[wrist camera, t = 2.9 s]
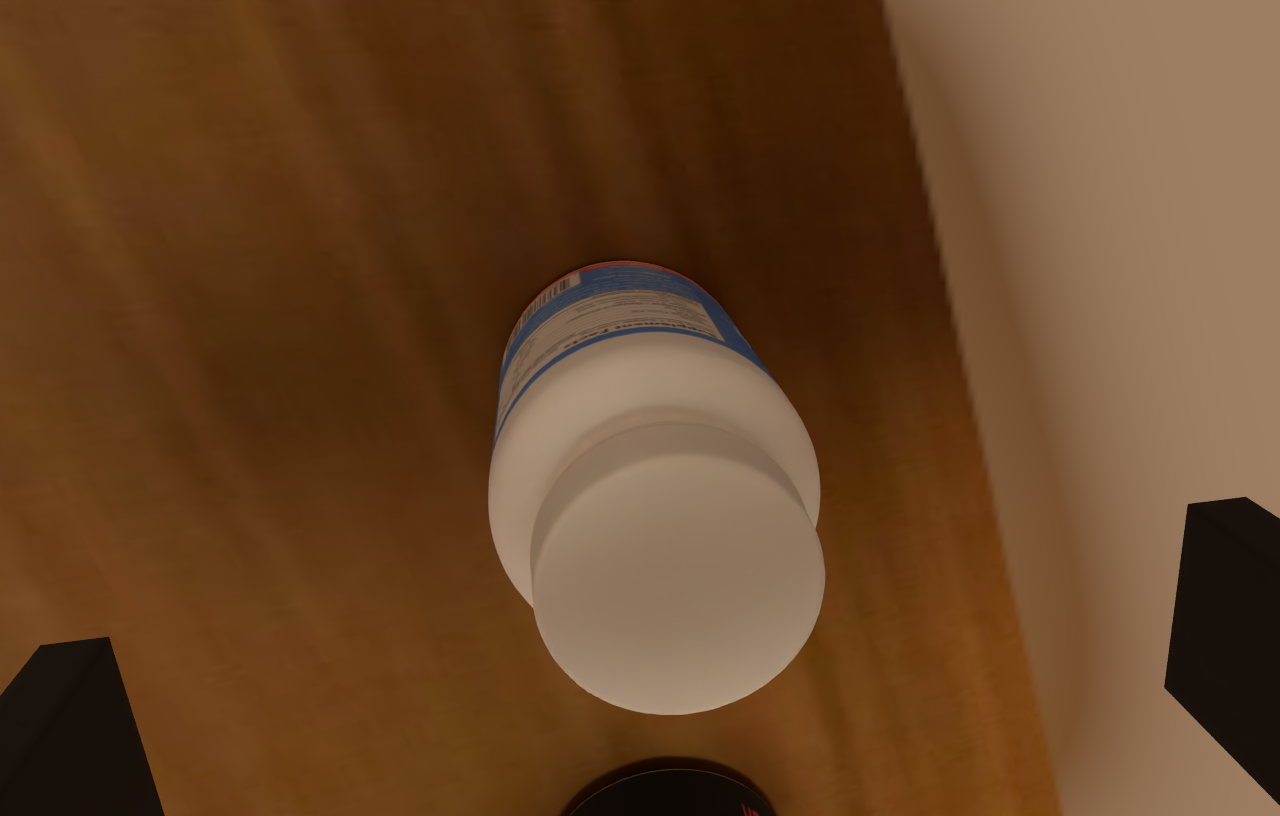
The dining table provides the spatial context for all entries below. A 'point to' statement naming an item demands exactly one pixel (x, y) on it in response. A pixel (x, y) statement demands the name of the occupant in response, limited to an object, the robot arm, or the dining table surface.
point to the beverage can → (675, 796)
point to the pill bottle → (653, 492)
